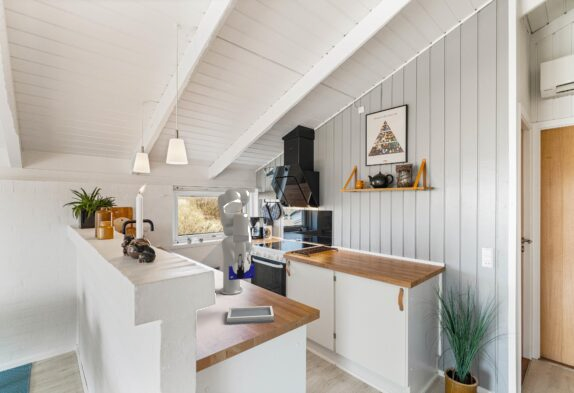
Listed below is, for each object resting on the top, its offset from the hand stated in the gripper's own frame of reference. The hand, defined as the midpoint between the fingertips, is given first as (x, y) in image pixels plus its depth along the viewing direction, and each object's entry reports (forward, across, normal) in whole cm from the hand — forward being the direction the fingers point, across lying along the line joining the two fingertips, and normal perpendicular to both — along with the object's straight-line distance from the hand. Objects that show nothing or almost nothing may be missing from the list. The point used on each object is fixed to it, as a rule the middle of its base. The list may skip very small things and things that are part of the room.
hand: (240, 276), depth 135 cm
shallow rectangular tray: (+16, +8, +5) cm, 19 cm away
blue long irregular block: (+1, 0, 0) cm, 1 cm away
